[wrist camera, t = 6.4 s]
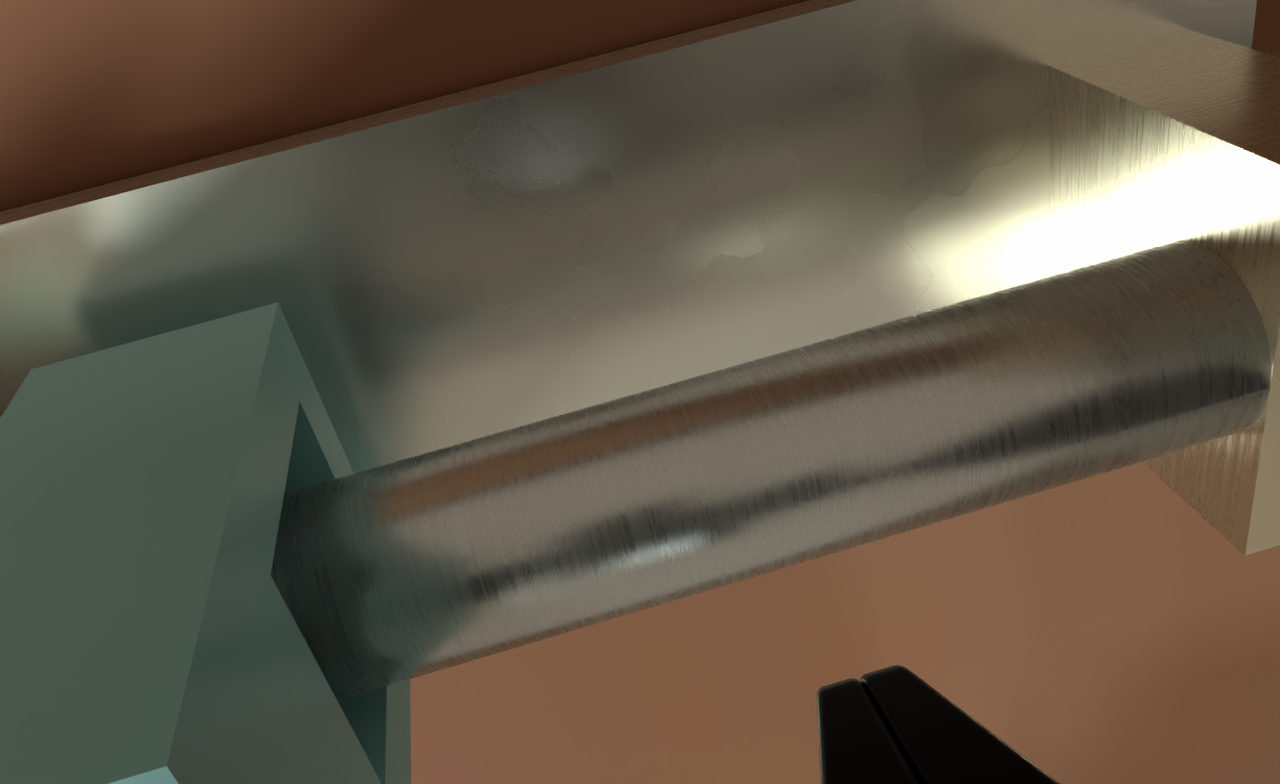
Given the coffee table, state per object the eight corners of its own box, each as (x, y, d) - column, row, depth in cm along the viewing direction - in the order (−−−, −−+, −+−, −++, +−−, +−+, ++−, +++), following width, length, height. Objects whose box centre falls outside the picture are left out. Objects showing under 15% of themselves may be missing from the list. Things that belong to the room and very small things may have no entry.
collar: (277, 302, 12) (166, 766, 7) (409, 598, 15) (414, 1120, 9) (31, 369, 12) (-313, 908, 6) (207, 657, 15) (79, 1227, 9)
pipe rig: (1237, -112, 14) (1633, -64, 9) (1188, 383, 18) (1445, 578, 14) (-364, 307, 12) (-784, 592, 8) (-12, 735, 17) (-161, 1076, 12)
